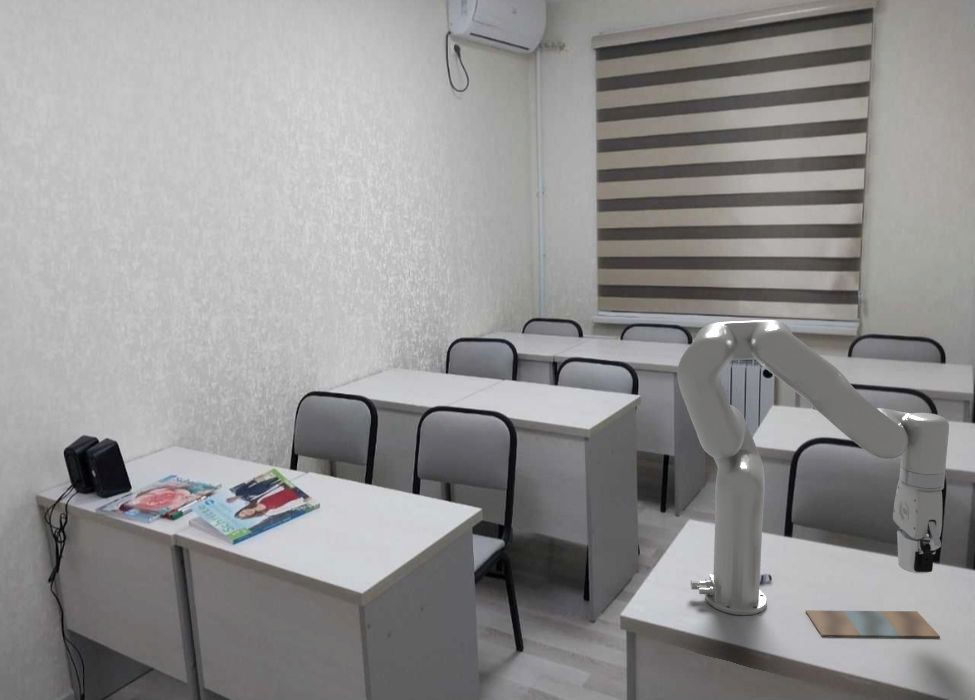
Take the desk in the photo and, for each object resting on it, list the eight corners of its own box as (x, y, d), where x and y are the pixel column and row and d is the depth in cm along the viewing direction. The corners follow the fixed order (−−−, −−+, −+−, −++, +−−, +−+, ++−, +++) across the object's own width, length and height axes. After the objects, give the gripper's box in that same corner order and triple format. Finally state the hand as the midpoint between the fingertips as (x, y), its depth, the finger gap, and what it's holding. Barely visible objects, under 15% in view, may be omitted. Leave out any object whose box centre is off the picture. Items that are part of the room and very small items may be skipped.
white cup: (888, 559, 152) (890, 526, 151) (922, 558, 152) (925, 526, 151) (905, 575, 146) (908, 541, 144) (941, 574, 145) (944, 541, 144)
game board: (821, 636, 148) (821, 634, 148) (805, 612, 157) (805, 610, 157) (939, 637, 147) (939, 636, 147) (916, 613, 156) (917, 611, 155)
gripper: (881, 462, 154) (875, 543, 157) (924, 494, 137) (916, 585, 141) (919, 461, 153) (912, 543, 157) (966, 494, 137) (958, 585, 140)
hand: (914, 562), depth 149 cm, fingers closed on white cup, 5 cm apart
